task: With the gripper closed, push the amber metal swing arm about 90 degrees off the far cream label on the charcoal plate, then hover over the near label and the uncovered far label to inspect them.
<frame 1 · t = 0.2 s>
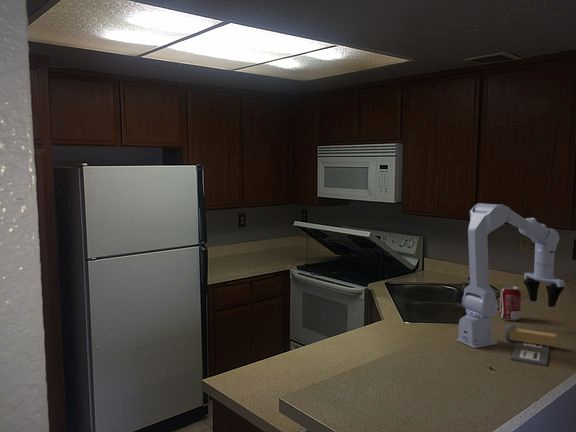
hand: (542, 303, 160), 10 cm above the countertop, tool pointing down, fingers open, 7 cm apart
label plate: (527, 350, 144), on the countertop
swing arm: (529, 335, 149), point 3 cm above the countertop, hinge at 0.0°
soda can: (509, 319, 177), on the countertop
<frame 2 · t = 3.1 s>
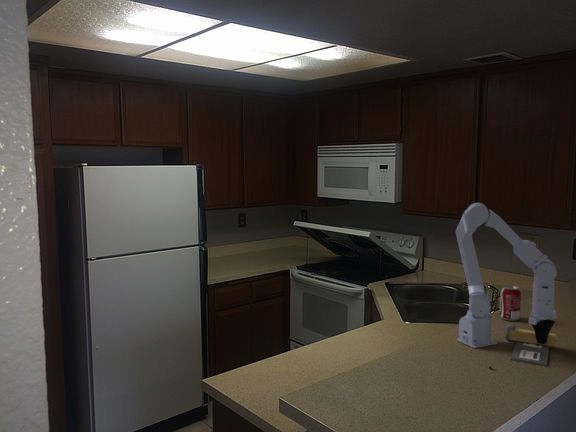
hand: (541, 343, 145), 2 cm above the countertop, tool pointing down, fingers closed
swing arm: (529, 335, 149), point 3 cm above the countertop, hinge at 0.0°, touching gripper
everything else where it was.
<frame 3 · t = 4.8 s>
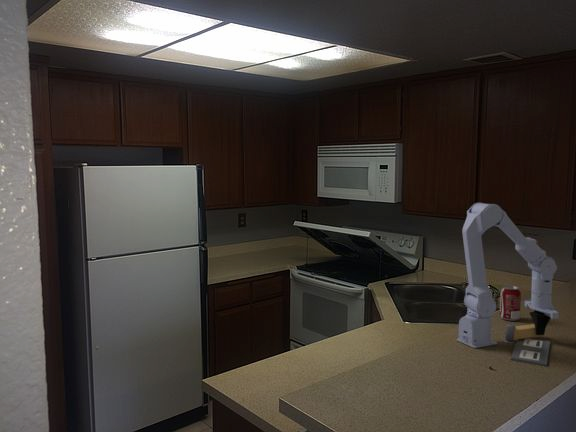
hand: (540, 334, 153), 2 cm above the countertop, tool pointing down, fingers closed
swing arm: (523, 330, 154), point 3 cm above the countertop, hinge at 50.9°, touching gripper
everything else where it was.
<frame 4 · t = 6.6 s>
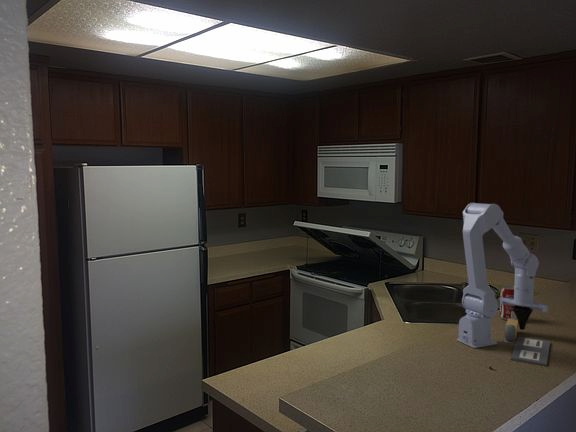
hand: (522, 328, 159), 2 cm above the countertop, tool pointing down, fingers closed
swing arm: (511, 328, 157), point 3 cm above the countertop, hinge at 92.4°, touching gripper
everything else where it was.
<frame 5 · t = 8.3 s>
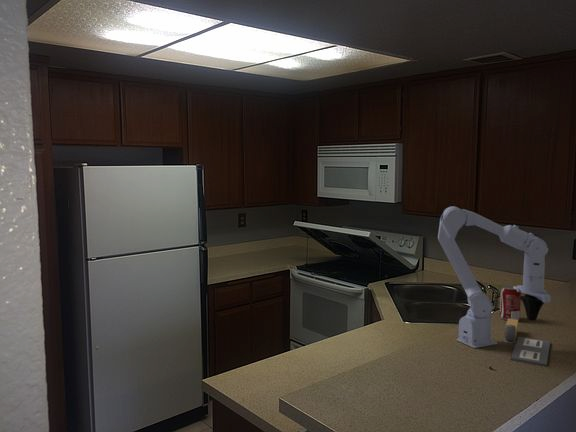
hand: (531, 319, 147), 8 cm above the countertop, tool pointing down, fingers closed
swing arm: (511, 328, 157), point 3 cm above the countertop, hinge at 92.4°
everything else where it was.
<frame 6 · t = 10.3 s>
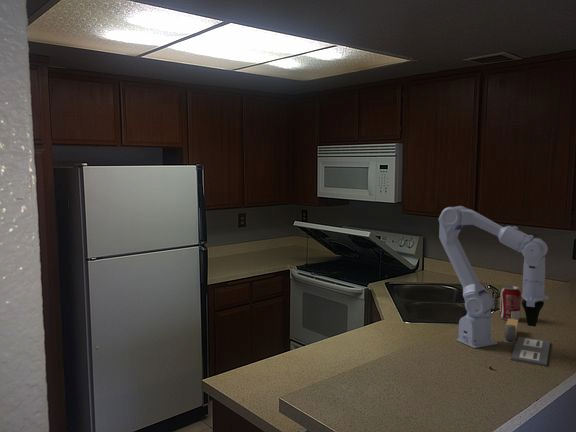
hand: (531, 325, 141), 8 cm above the countertop, tool pointing down, fingers closed
nothing on the countertop moved.
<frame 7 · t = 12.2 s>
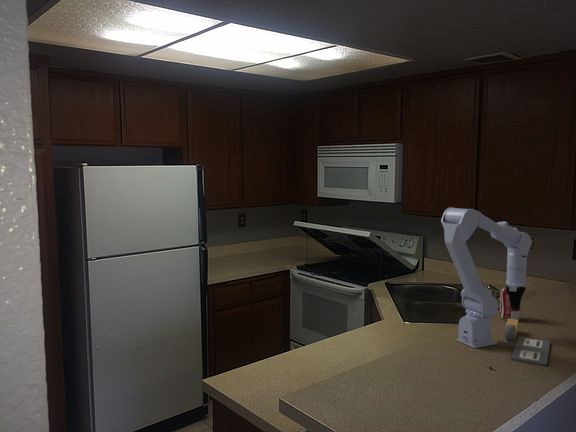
hand: (515, 309, 156), 9 cm above the countertop, tool pointing down, fingers closed
nothing on the countertop moved.
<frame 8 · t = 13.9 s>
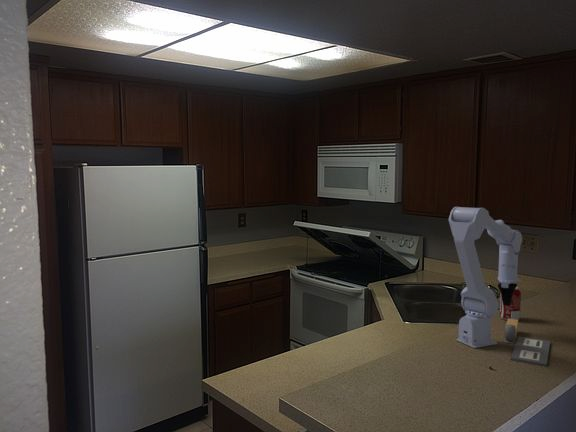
hand: (506, 305, 160), 9 cm above the countertop, tool pointing down, fingers closed
nothing on the countertop moved.
at the end: swing arm at +92° (first picture: +0°) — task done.
